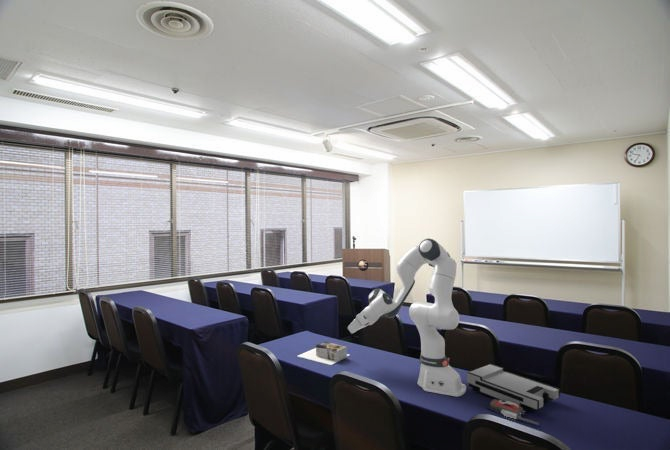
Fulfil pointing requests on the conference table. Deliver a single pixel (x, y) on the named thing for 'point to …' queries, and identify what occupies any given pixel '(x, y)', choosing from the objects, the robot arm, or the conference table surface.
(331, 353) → the coffee box
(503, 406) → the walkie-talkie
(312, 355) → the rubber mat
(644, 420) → the conference table surface
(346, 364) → the conference table surface
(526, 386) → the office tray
